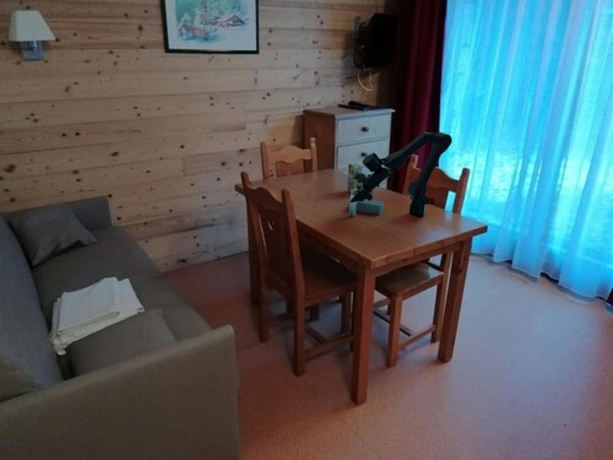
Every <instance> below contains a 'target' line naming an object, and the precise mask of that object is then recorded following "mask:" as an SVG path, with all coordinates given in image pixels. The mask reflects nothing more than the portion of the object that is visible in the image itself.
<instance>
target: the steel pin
mask: <svg viewBox="0 0 613 460" xmlns="http://www.w3.org/2000/svg"><path fill="white" fill-rule="evenodd" d="M357 191H358V190H357V189H351V193H350V197H349V203H350V210H348V211H349V214H348V215H349V216H351V217H354V216H357V211H356V205H357V202H353V203H351V202H350V201H351V199H352V198H353V197H354V196H355V195H356V194H357Z"/></svg>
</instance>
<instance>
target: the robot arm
mask: <svg viewBox="0 0 613 460" xmlns="http://www.w3.org/2000/svg"><path fill="white" fill-rule="evenodd" d="M428 143H430V144H431V147H430V148H431V149H430V152H429V153H428V157H427V158H426V160H425V162H424V164H423V167H422V169H421V171H420V173H419V175H418V177H417V178H416V179H415V180H414V181H413V180H411V181H410V182H409V185H408V187H407V195H408V196H409V198H410V200H411V202H410V204H409V212H408V213H409V214H408V215H410V216H414V217H420V218H423V217H424V216H425V215H426V214H425V213H426V207H427V205H429V203H430V199H429V198H428V197H427V192H428V182H429V180H430V178H431V177H432V174H433V172H434V170H435V169H436V166H437V164H438V162H439V160H440V158H441V156H442V154H444V153H445V152H446V151H447V150H448V149H449V148H450V146H451V145H452V143H453V138H452V136H451V135H450V134H447V133H445V132H442V131H439V132H435V133H434V132H426V131H423V132H421V133H420V135H418V136H417V137H415V138H414V139H413V140H412V141H411V142H409V143H408V144H406V145H405V146H404V147H403V148H401V149H400V150H398V151H395V152H392V153H390V154H388V155H386V157H382V158H379V156H378V154H377V153H375V152H372V153H370V154H368V155H367V156H365V157H364V158H363V160H362V165H364V167H365V168H366V169H367V170H368V171H369V172H370V173H368V174H366V173H363V172H362V173H361V172H359V171H357V170H356V172H355V174H354V176H353V177H354V179H355V180H357V182H359V184H356V189H357V190H358V191H357V194H356V195H355V196H354V197H353V198H352V199H351V201H350V200H349V203H350V202H351V203H353V202H357V201H360V200H364V199H367V200H368V201H370V200H374V199H373V198H374V195H373V191H374V190H375V189H376V188H377V187H378V188H379V187H380V186H381V184H382V183H383V182H384V181H385V180H386V179H388V178H390V179H391V180H393V179H394V174H395V173H394V172H393V171H396V172H397V171H399V170H400V168H401V167H402V166H403V165H405V162H406V160H407V159H408V158H409V157H411V156H412V155H414V154H415V153H416V152H418V150H421V148H423V147H424V146H425V145H426V144H428ZM389 169H390V170H391V171H390V170H389Z"/></svg>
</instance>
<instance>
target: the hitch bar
mask: <svg viewBox="0 0 613 460" xmlns="http://www.w3.org/2000/svg"><path fill="white" fill-rule="evenodd" d="M348 204H349V205H348V206H349V207H348V211H350V202H349V203H348ZM384 208H385V201H382V200H381V201H380V200H376V199H375V200H374V199H372V200H370V201H368V200H367V199H364V200H360V201H357V205H356V212H359V213H365V214H369V215H370V214H371V215H376V216H380V215H381V214H382V213H383V212H384V210H385V209H384Z"/></svg>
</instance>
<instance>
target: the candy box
mask: <svg viewBox="0 0 613 460" xmlns="http://www.w3.org/2000/svg"><path fill="white" fill-rule="evenodd" d="M362 169H363V167H362V166H360V165H359V164H357V163H355V162H353V163H352V162H350V163H348V169H347V192H349V193H350V194H351V189H356V184H359V182H357V180H355V179H354V177H353V176H354V174H355V172H356V170H357V171H359V172H361V173H363V172H362Z"/></svg>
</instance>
